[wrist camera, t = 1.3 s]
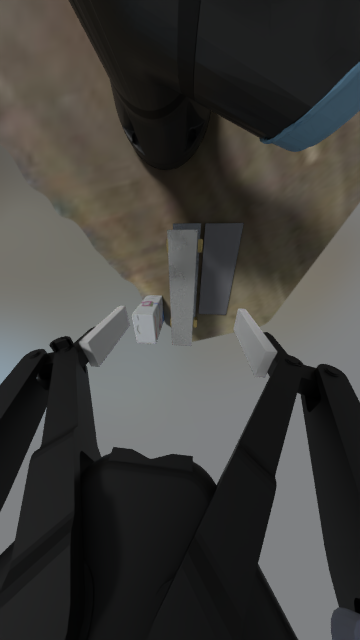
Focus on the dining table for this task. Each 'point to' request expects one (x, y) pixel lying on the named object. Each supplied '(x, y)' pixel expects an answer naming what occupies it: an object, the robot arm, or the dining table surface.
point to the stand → (199, 249)
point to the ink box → (148, 319)
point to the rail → (182, 283)
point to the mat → (218, 266)
